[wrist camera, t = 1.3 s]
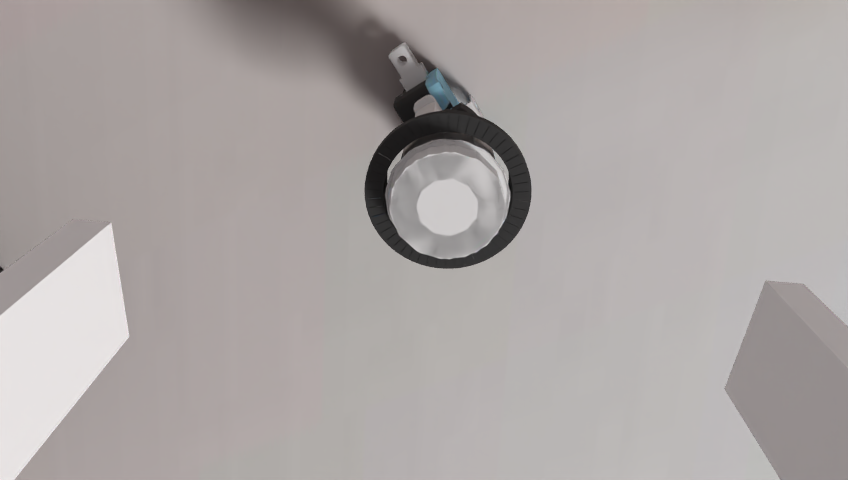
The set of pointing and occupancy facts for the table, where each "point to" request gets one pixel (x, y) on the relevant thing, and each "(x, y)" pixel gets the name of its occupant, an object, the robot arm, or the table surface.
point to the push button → (444, 176)
